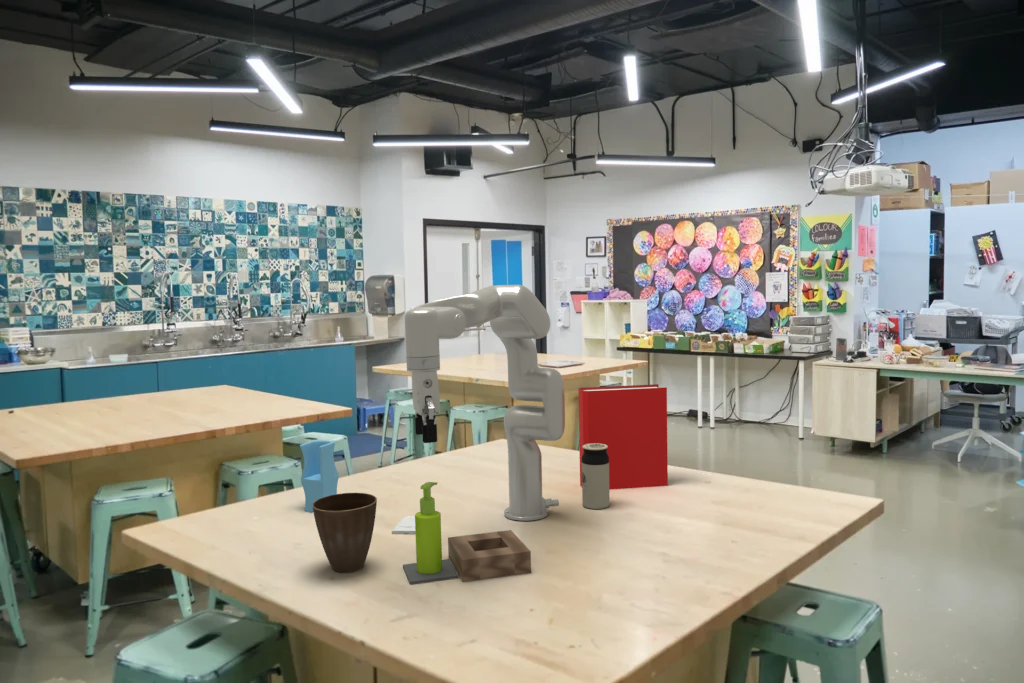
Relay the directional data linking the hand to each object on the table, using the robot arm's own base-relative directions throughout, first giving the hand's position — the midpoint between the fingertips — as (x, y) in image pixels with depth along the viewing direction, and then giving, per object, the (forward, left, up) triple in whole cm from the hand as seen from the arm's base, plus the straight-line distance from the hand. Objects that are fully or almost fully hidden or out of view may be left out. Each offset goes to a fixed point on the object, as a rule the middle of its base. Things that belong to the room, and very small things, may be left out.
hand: (426, 438), depth 174 cm
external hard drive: (-1, -35, -32) cm, 47 cm away
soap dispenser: (0, -1, -31) cm, 31 cm away
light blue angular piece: (+22, -62, -32) cm, 73 cm away
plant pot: (+18, -10, -32) cm, 38 cm away
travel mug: (-56, -35, -32) cm, 73 cm away
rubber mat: (0, 0, -32) cm, 32 cm away
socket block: (-14, 0, -32) cm, 34 cm away
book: (-73, -53, -32) cm, 95 cm away
